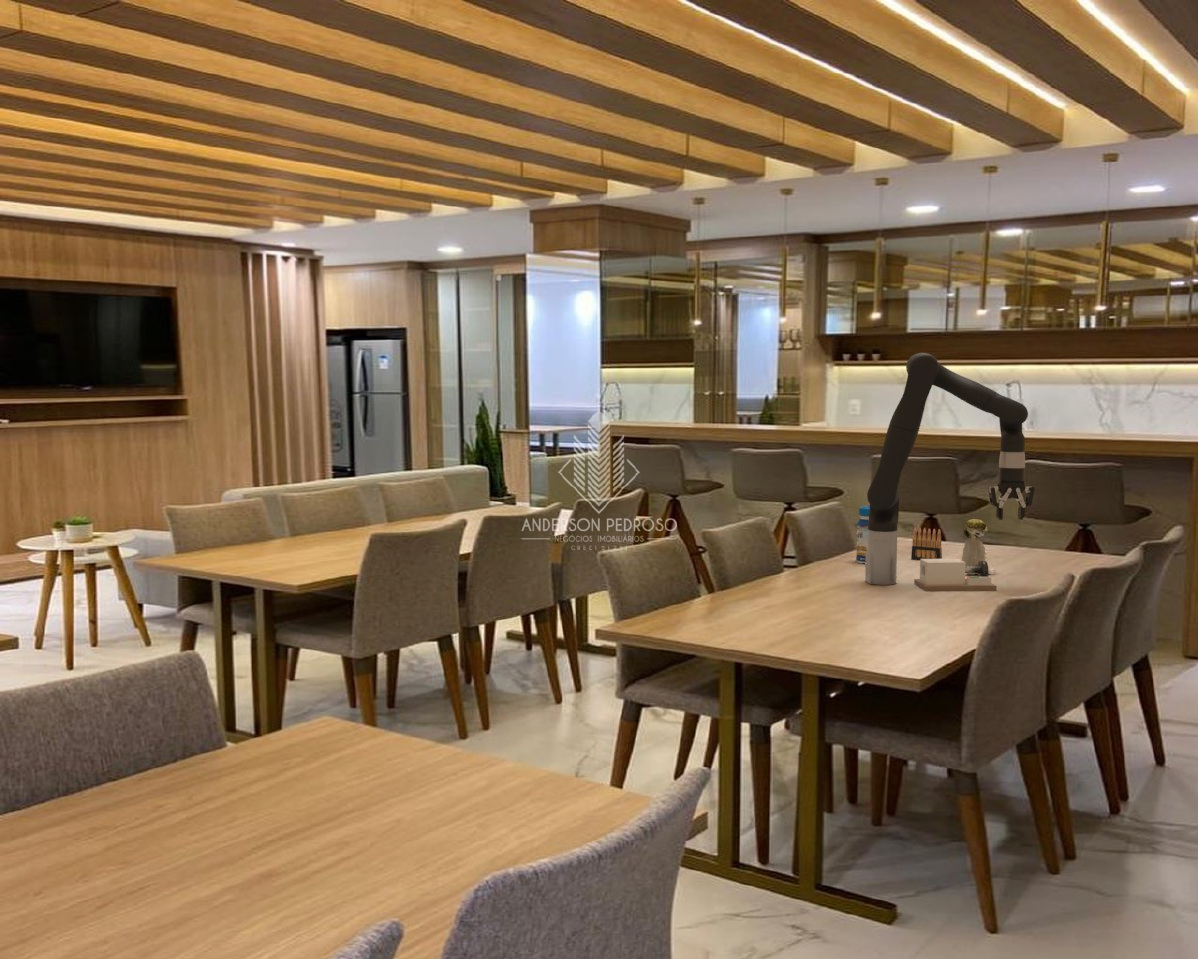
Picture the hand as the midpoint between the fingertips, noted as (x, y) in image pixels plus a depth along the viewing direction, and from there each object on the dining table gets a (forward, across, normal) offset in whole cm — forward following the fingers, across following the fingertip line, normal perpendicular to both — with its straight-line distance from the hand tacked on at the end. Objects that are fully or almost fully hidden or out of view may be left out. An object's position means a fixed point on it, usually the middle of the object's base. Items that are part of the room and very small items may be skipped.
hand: (1010, 519), depth 330 cm
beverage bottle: (+22, -33, +46) cm, 61 cm away
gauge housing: (+22, -17, 0) cm, 27 cm away
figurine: (+22, -2, +24) cm, 32 cm away
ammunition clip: (+22, -11, +49) cm, 55 cm away
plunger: (+19, -14, -1) cm, 24 cm away
